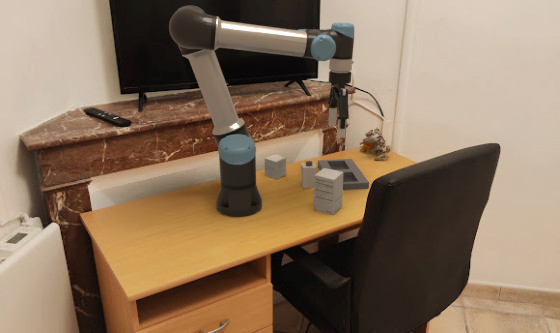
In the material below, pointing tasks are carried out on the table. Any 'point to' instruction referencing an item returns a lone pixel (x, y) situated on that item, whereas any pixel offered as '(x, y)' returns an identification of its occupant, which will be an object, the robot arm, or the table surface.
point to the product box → (275, 166)
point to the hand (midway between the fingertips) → (336, 131)
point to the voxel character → (375, 143)
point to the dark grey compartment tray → (346, 173)
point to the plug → (308, 174)
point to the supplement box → (328, 190)
